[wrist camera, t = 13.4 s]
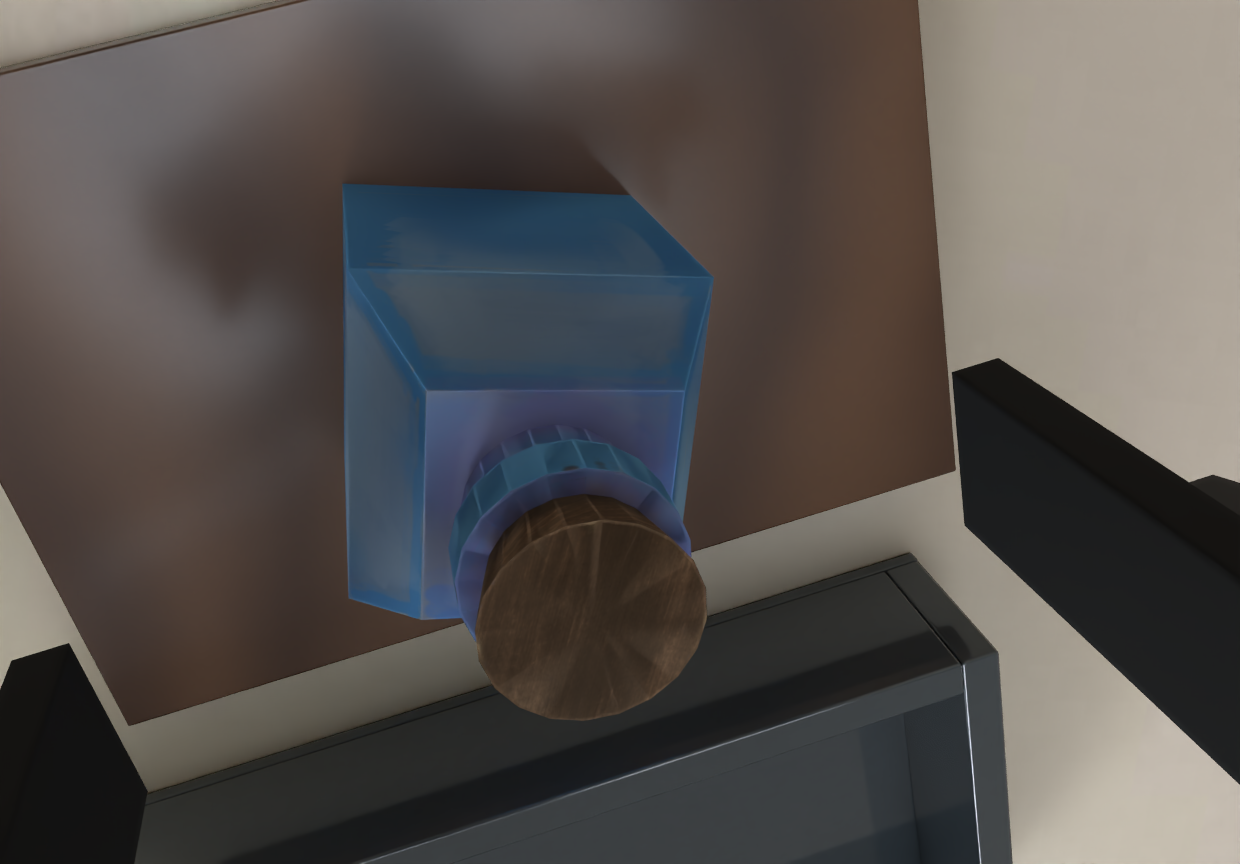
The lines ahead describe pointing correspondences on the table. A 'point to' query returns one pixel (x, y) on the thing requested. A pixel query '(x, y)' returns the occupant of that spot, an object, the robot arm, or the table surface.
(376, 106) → the board
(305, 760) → the tray
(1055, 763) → the table surface
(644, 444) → the perfume bottle
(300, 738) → the table surface
